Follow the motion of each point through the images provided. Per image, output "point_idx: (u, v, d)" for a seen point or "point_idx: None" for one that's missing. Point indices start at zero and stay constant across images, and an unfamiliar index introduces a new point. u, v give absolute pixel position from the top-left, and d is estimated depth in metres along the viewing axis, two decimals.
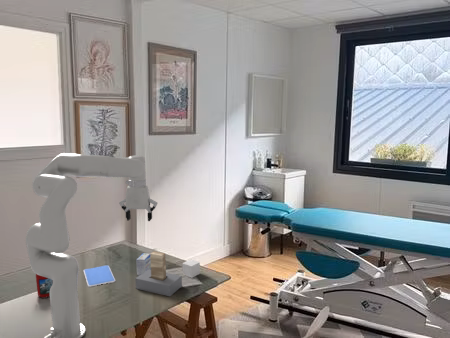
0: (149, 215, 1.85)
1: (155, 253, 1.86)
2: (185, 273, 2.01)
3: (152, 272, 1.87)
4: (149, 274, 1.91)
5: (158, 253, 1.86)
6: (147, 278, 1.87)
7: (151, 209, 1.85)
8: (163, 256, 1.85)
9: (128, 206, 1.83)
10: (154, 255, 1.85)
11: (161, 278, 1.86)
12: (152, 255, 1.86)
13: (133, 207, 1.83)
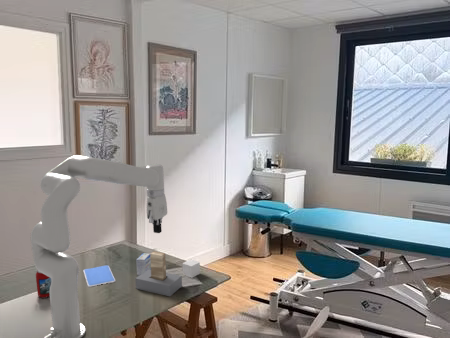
0: None
1: (155, 253, 1.86)
2: (185, 273, 2.01)
3: (152, 272, 1.87)
4: (149, 274, 1.91)
5: (158, 253, 1.86)
6: (147, 278, 1.87)
7: None
8: (163, 256, 1.85)
9: (157, 217, 1.78)
10: (154, 255, 1.85)
11: (161, 278, 1.86)
12: (152, 255, 1.86)
13: (160, 217, 1.80)
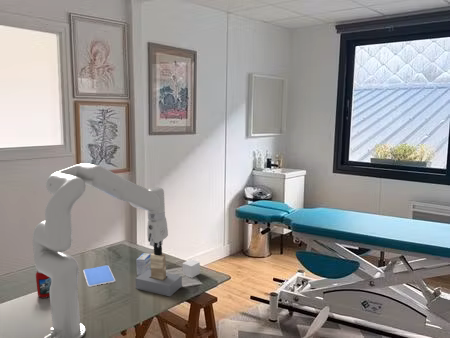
0: None
1: None
2: (185, 273, 2.01)
3: (152, 273, 1.88)
4: (149, 274, 1.91)
5: None
6: (147, 278, 1.87)
7: (161, 243, 1.87)
8: (163, 257, 1.85)
9: (158, 240, 1.80)
10: (154, 256, 1.85)
11: (161, 279, 1.86)
12: (152, 256, 1.86)
13: (160, 239, 1.82)
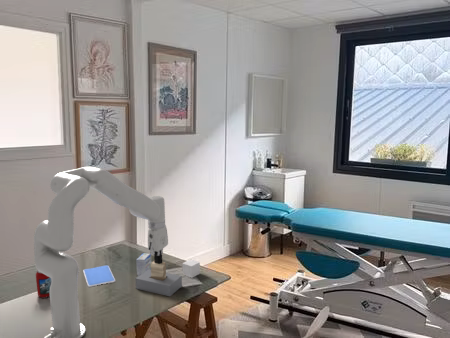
0: None
1: None
2: (185, 273, 2.01)
3: None
4: (149, 274, 1.91)
5: None
6: (147, 278, 1.87)
7: None
8: (163, 265, 1.86)
9: (158, 249, 1.81)
10: (154, 264, 1.86)
11: None
12: (152, 264, 1.87)
13: (161, 248, 1.83)
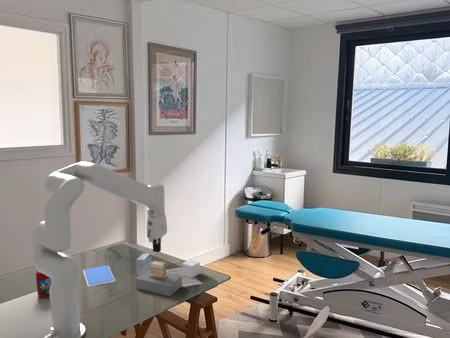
0: None
1: (155, 262, 1.87)
2: (185, 273, 2.01)
3: None
4: (149, 274, 1.91)
5: (159, 262, 1.87)
6: (147, 278, 1.87)
7: None
8: (163, 265, 1.86)
9: (157, 236, 1.80)
10: (154, 264, 1.86)
11: None
12: (152, 264, 1.87)
13: (159, 236, 1.82)
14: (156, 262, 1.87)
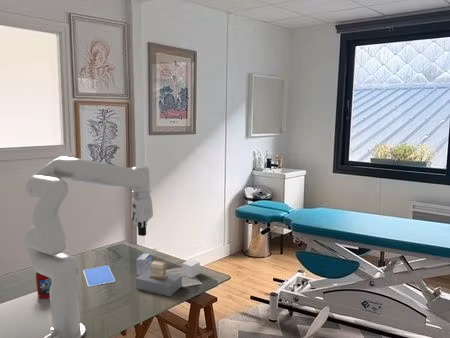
0: None
1: (155, 262, 1.87)
2: (185, 273, 2.01)
3: None
4: (149, 274, 1.91)
5: (159, 262, 1.87)
6: (147, 278, 1.87)
7: (146, 223, 1.83)
8: (163, 265, 1.86)
9: (141, 219, 1.76)
10: (154, 264, 1.86)
11: None
12: (152, 264, 1.87)
13: (144, 219, 1.78)
14: (156, 262, 1.87)
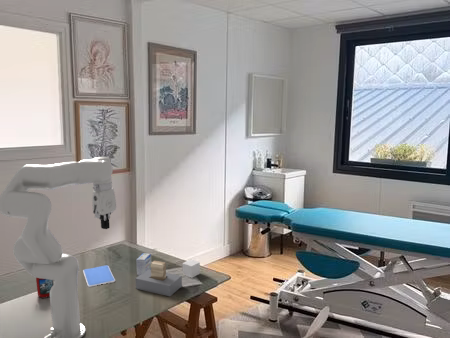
0: None
1: (155, 262, 1.87)
2: (185, 273, 2.01)
3: None
4: (149, 274, 1.91)
5: (159, 262, 1.87)
6: (147, 278, 1.87)
7: (109, 216, 1.77)
8: (163, 265, 1.86)
9: (103, 212, 1.70)
10: (154, 264, 1.86)
11: None
12: (152, 264, 1.87)
13: (107, 212, 1.72)
14: (156, 262, 1.87)
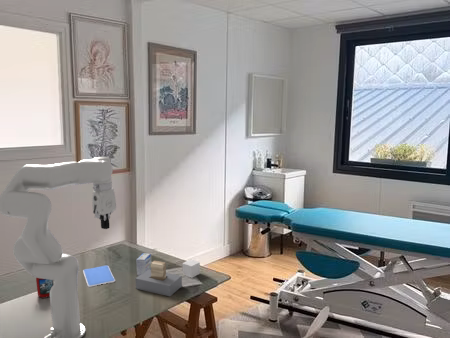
0: None
1: (155, 262, 1.87)
2: (185, 273, 2.01)
3: None
4: (149, 274, 1.91)
5: (159, 262, 1.87)
6: (147, 278, 1.87)
7: (109, 216, 1.77)
8: (163, 265, 1.86)
9: (103, 212, 1.70)
10: (154, 264, 1.86)
11: None
12: (152, 264, 1.87)
13: (107, 212, 1.72)
14: (156, 262, 1.87)
